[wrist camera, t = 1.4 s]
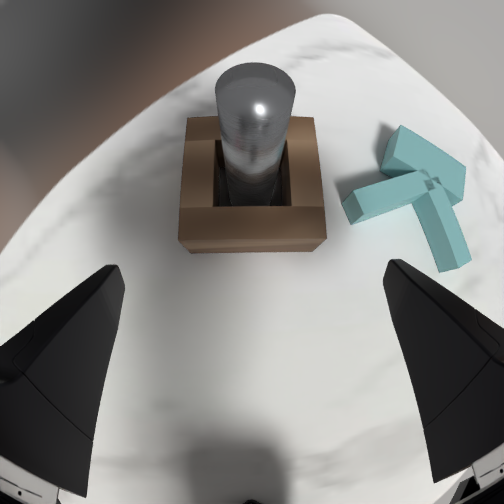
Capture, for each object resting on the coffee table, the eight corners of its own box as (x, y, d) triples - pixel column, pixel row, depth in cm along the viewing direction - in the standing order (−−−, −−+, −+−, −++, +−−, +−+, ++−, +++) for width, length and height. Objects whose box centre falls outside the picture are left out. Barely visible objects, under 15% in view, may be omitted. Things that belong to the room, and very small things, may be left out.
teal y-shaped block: (449, 278, 23) (468, 274, 20) (336, 217, 24) (347, 205, 21) (465, 189, 25) (481, 179, 22) (367, 129, 26) (378, 112, 23)
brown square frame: (312, 251, 23) (326, 238, 19) (190, 253, 23) (178, 240, 19) (303, 146, 25) (313, 117, 21) (195, 146, 25) (187, 117, 21)
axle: (280, 192, 24) (310, 86, 12) (253, 223, 24) (262, 132, 11) (247, 168, 25) (249, 53, 12) (220, 197, 24) (198, 92, 11)
